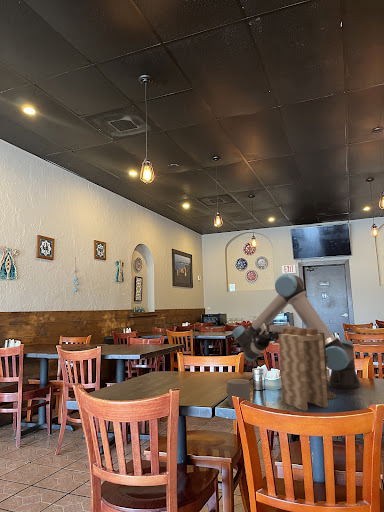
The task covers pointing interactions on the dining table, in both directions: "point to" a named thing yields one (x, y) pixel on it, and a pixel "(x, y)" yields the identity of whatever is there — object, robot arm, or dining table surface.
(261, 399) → the dining table surface
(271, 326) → the hook arm
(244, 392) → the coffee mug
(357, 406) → the dining table surface
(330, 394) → the candlestick holder
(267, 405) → the dining table surface
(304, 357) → the brown wavy-patterned folding screen
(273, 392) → the dining table surface
